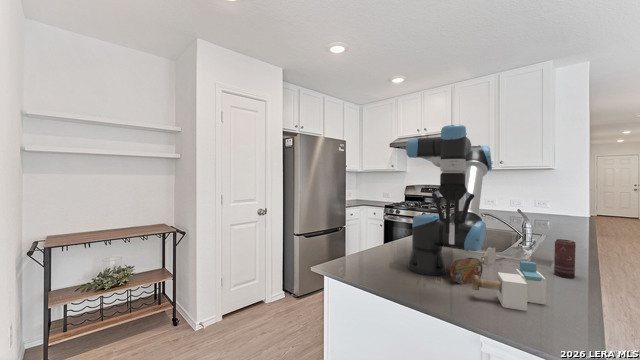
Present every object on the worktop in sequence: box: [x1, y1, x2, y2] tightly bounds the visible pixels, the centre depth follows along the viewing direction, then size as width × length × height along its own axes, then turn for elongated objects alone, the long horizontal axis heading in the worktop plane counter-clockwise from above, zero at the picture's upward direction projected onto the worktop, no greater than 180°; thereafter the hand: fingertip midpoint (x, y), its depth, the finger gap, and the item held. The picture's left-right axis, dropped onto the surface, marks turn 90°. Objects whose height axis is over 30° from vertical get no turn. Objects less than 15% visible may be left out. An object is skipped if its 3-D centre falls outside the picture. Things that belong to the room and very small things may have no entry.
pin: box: [471, 275, 502, 291], centre depth 87 cm, size 13×5×5 cm, turn 68°
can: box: [553, 238, 577, 279], centre depth 109 cm, size 6×6×14 cm
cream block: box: [496, 271, 528, 312], centre depth 86 cm, size 6×8×8 cm
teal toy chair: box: [518, 260, 542, 281], centre depth 89 cm, size 4×7×4 cm, turn 158°
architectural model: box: [480, 246, 497, 266], centre depth 125 cm, size 3×7×7 cm, turn 118°
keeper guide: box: [514, 268, 547, 305], centre depth 89 cm, size 6×7×8 cm
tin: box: [449, 257, 484, 285], centre depth 104 cm, size 15×3×8 cm, turn 114°
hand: (451, 243), depth 92 cm, fingers closed
